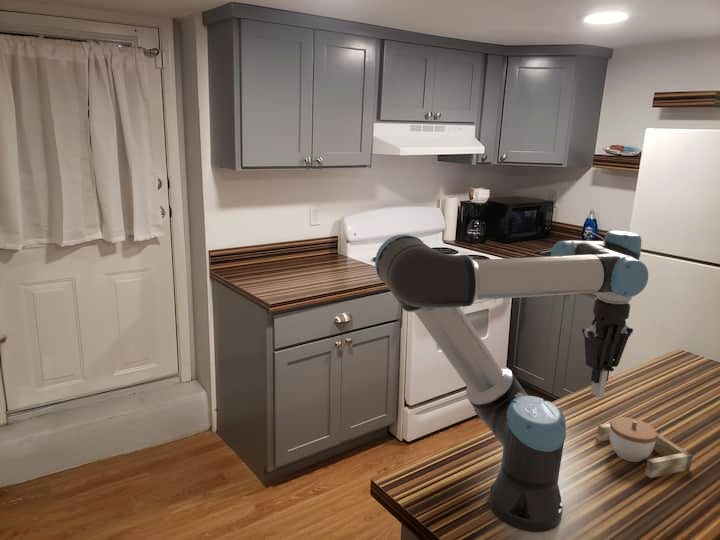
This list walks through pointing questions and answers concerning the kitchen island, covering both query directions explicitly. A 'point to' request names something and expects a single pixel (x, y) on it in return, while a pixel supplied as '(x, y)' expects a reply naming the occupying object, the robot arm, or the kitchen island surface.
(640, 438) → the lidded jar
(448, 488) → the kitchen island surface
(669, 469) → the birch dock
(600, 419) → the kitchen island surface
